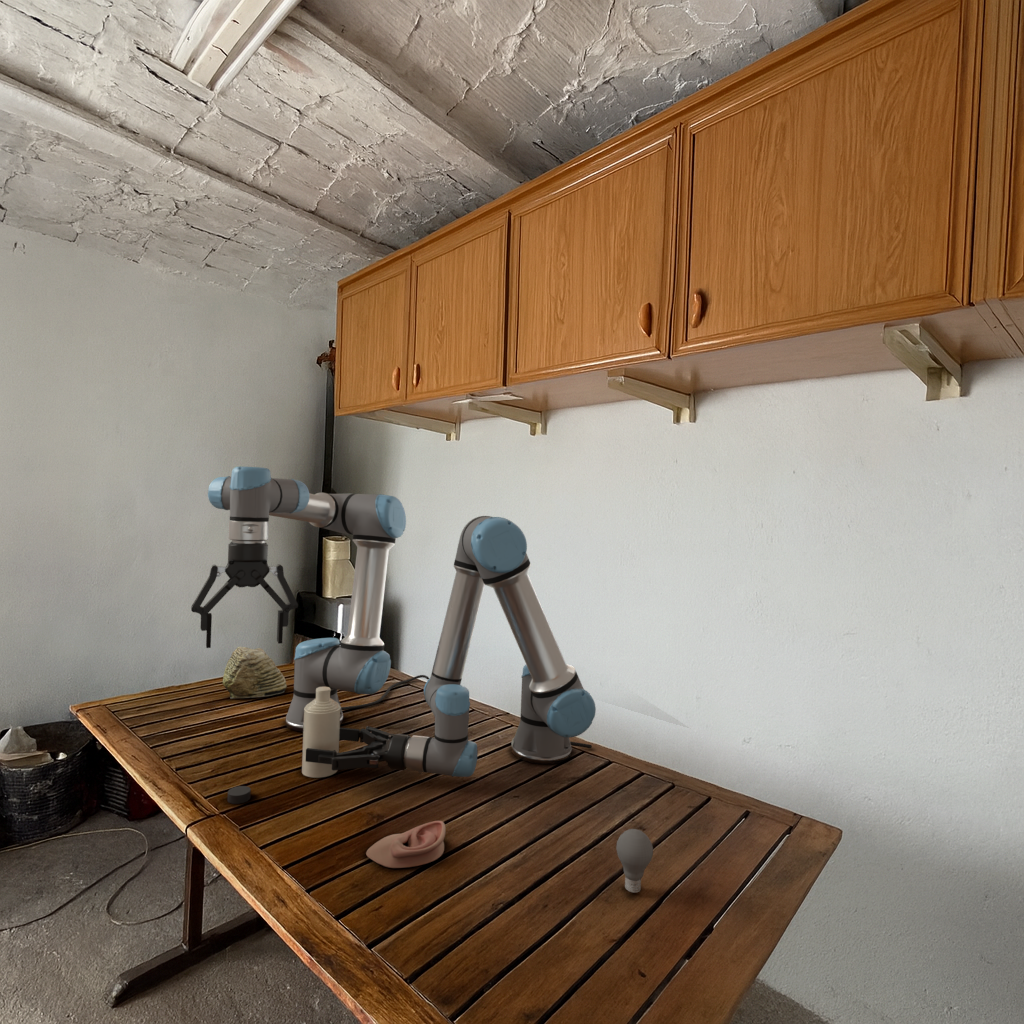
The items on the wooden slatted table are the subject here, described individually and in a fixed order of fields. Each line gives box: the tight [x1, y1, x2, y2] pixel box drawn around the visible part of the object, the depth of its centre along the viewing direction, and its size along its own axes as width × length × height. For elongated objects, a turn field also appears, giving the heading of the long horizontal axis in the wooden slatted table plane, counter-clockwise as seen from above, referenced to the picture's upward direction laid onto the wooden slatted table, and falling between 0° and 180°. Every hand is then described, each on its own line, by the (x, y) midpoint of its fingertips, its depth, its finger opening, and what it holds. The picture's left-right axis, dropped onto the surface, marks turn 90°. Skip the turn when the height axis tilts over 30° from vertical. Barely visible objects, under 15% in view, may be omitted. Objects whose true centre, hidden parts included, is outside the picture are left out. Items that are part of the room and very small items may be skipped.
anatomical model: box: [365, 820, 447, 869], centre depth 114 cm, size 13×4×12 cm
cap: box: [226, 785, 252, 805], centre depth 131 cm, size 4×4×2 cm
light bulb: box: [615, 828, 654, 894], centre depth 106 cm, size 6×6×10 cm
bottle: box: [301, 687, 342, 779], centre depth 146 cm, size 8×8×19 cm
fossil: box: [222, 646, 288, 699], centre depth 198 cm, size 9×18×15 cm, turn 132°
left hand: (244, 644), depth 131 cm, fingers open, 13 cm apart
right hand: (320, 743), depth 147 cm, fingers open, 13 cm apart
